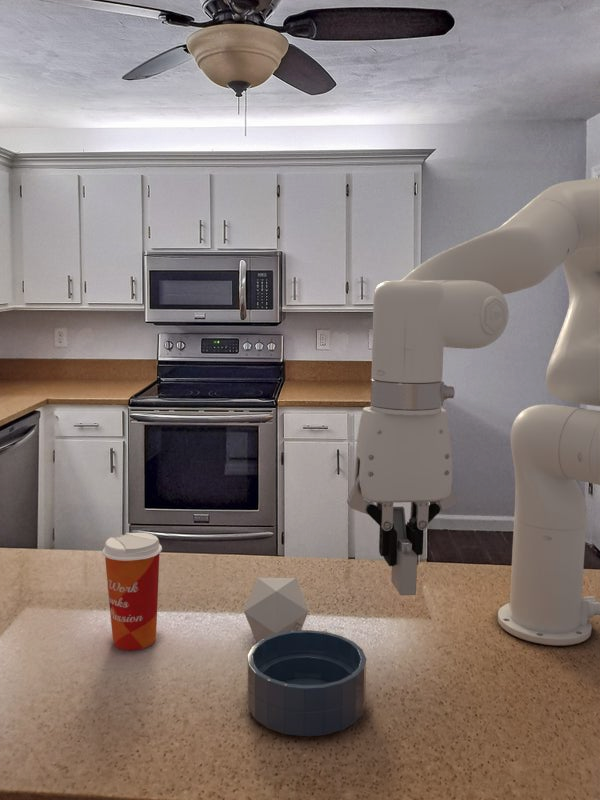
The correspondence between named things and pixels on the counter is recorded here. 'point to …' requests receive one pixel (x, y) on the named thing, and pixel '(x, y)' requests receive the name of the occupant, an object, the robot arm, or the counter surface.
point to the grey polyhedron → (275, 607)
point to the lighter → (403, 557)
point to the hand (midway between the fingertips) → (400, 560)
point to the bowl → (306, 682)
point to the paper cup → (133, 588)
